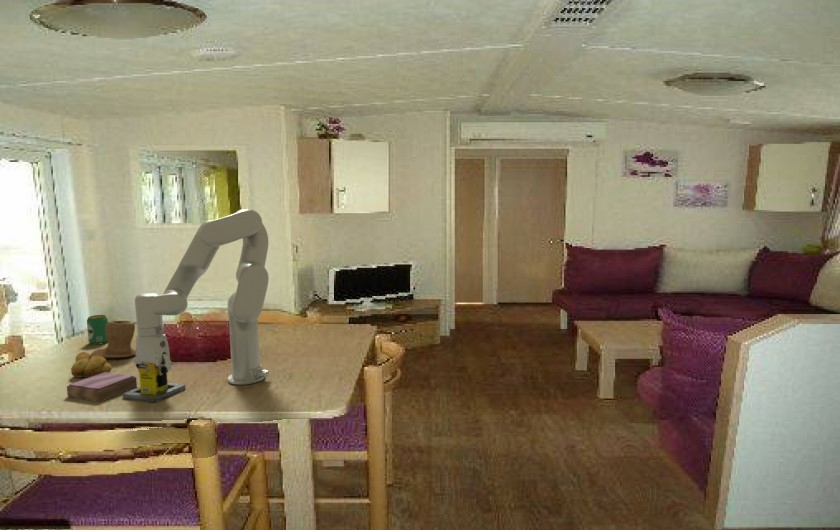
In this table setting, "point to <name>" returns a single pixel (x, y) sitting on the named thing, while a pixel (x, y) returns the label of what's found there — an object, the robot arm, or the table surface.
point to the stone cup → (117, 340)
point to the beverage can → (97, 329)
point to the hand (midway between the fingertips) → (154, 384)
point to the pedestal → (101, 386)
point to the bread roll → (89, 365)
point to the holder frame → (137, 395)
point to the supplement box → (150, 379)
